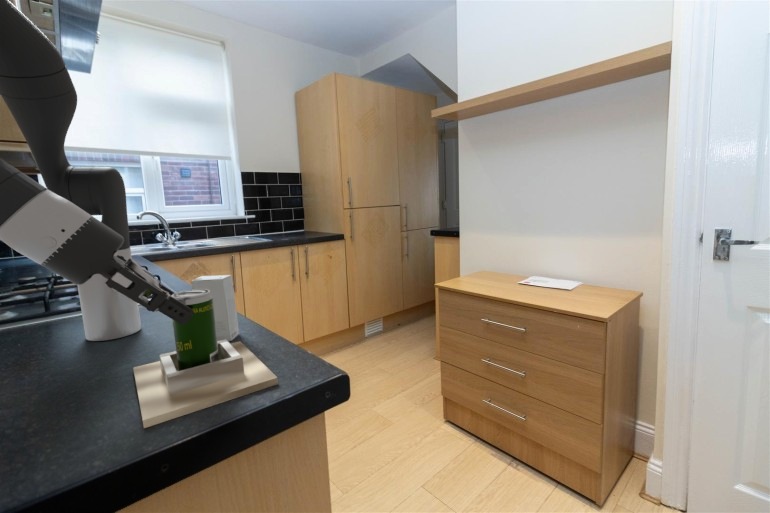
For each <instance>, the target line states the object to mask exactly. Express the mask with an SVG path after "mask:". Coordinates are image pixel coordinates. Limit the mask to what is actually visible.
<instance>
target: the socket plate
mask: <svg viewBox="0 0 770 513" xmlns="http://www.w3.org/2000/svg"><path fill="white" fill-rule="evenodd" d="M217 343H218V353H219V361H215V362H212V363H208V364H204V365H200V366H197V367H193V368H189V369H185V370H181V371H179V368H178V360H177V352H176V350H175V351H170V352H166V353H161V354H158V355H159V360H158V361H154V362H150V363H146V364H142V365H138V366H134V367H133V368H132V369H133V375H134V379H135V386H136V392H137V397H138V403H139V409H140V414H141V421H142V426H143V429H146V428H149V427H152V426H156V425H158V424H162V423H164V422H167V421H170V420H171V421H172V420H173V419H177V418H179V417H182V416H185V415H188V414H192V413H194V412H199V411H202V410H204V409H206V408H210V407H214V406H216V405H219V404H222V403H225V402H228V401H230V400H234V399H237V398H240V397H243V396H247V395H249V394H252V393H255V392H257V391H258V392H259V391H261V390H264V389H265V390H266V388H270V387H274V386H276V385H279V380H278V376H276V375H275V373H274V372H272V371H271V370H270V369H269V367H267V366H266V364H264V363H263V362H262V361H261V360H260V358H258V357H257V356H256V355H255V354H254V353H253V352H252V351H251V350H250V349H249V348H248V347H247V346H246V345H245V344H244V343H242V341H241V340H240V341H235V342H231V343H230V341H227V340H226V339H225V340H220V341H217Z"/></svg>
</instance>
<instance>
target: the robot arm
mask: <svg viewBox="0 0 770 513" xmlns="http://www.w3.org/2000/svg"><path fill="white" fill-rule="evenodd" d="M0 96H1V98H2V100H3V102H4V103H5V104H6V106H7V108H8V110H9V111H10V113H11V115H12V116H13V118H14V121H15V122H16V124H17V126H18V128H19V130H20V132H21V134H22V135H23V137H24V140H25V141H26V143H27V145H28V147H29V150H30V151H31V153H32V156H33V158H34V162H36V163H35V164H36V166H37V168H38V170H39V173H40V175H41V179H42V180H43V183H44V185H45V186H44V185H42V184H41V183H39V182H37V181H36V180H35V179H33V178H32V177H30V176H29V175H27V174H26V173H24V172H22V171H21V170H19V169H18V168H16V167H15V166H13V165H11V164H9V163H8V162H7V161H5V160H4V159H3V158H1V157H0V241H1V242H3V243H4V244H6V245H7V246H8V247H9V248H11V249H13V250H14V251H16V252H17V253H19V254H20V255H22V256H24V257H26V258H28V259H29V260H31V261H33V262H35V263H36V264H38V265H41V267H43V268H45V269H47V270H49V271H51V272H53V273H55V274H56V275H58V276H60V277H62V278H63V279H65V280H67V281H69V282H71V283H73V284H75V285H77V290H78V298H79V302H80V303H79V305H80V310H81V316H82V322H83V330H84V336H85V339H86V341H90V342H101V341H111V340H116V339H120V338H125V337H128V336H130V335H133V334H135V333H138V332H140V331H141V329H142V325H141V324H142V323H141V322H142V321H141V316H140V309H139V308H140V307H139V305H141V306H142V307H143V308H145V309H146V310H147V311H148V312H152V313H155V312H159V313H161V314H163V315H165V317H168V318H169V319H171V320H172V319H173V320H175V321H176V322H178V323H180V324H182V325H184V324H186V323H187V322H188V321H189V320H190V319H191V317H192V316H193V315H194V311H193V310H192V309H191V308H189V307H188V306H186V305H184V304H183V303H181V302H180V301H178V300H176V299H175V298H173V297H172V296H171V295H173V294H175V293H176V292H174V291H173V290H171V289H170V288H168V287H166V286H165V285H164V284H162V282H161V280H159V279H157V278H156V277H155V275H154V274H153V273H152V272H150V271H149V270H147V269H145V268H144V267H142V265H141V264H140V263H138V262H137V261H135V260H134V259H133V256H132V250H131V244H130V243H131V242H130V228H129V221H128V220H129V219H128V208H127V205H128V204H127V194H126V186H125V181H124V179H123V176H122V175H121V173H120V172H119V171H118V170H117V169H116V168H114V167H110V166H72V165H71V164H70V162H69V160H68V158H67V155H66V152H65V142H66V138H67V134H68V131H69V129H70V125H71V124H72V121H73V119H74V116H75V113H76V110H77V106H78V94H77V91H76V88H75V85H74V83H73V81H72V78H71V76H70V73H69V71H68V67H67V64H66V63H65V61H64V58H63V56H62V54H61V53H60V51H59V50H58V48H57V46H55V44H54V43H53V42H52V41H51V40H50V39H49V38H48V37H47V35H46V34H45V33H44V32H43V31H42V30H40V28H38V26H37V25H36V24H34V22H33V21H32V20H30V18H28V17H27V16H26V15H25V14H24V13H23V12H22V11H20V9H19V8H18V7H16V6H15V5H14V3H12V2H11V1H10V0H0ZM94 216H101V221H100V220H99V219H98V218H96V217H94ZM148 298H150V300H149V299H148ZM173 320H172V321H173Z"/></svg>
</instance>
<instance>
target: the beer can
mask: <svg viewBox="0 0 770 513" xmlns="http://www.w3.org/2000/svg"><path fill="white" fill-rule="evenodd" d="M174 293H175V294H173V295H171V296H172V297H173V298H175V299H176V300H178V301H180V302H181V303H183V304H184V305H186V306H188V307H189V308H191V309H192V310H193V311H194V315H193V316H192V317H191V319H190V320H189V321H188V322H187V323H186V324H184V325H182V324H180V323H178V322H176V321H175V320H173V319H171V320H172V326H173V334H174V342H175V351H176V352H177V360H178V368H179V371H181V370H185V369H189V368H193V367H197V366H200V365H204V364H208V363H212V362H215V361H219V353H218V343H217V334H216V325H215V315H214V306H213V297H212V296H211V294H210V290H207V289H194V290H193V289H188V290H187V289H186V290H181V291H178V292H174Z"/></svg>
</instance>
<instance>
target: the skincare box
mask: <svg viewBox="0 0 770 513" xmlns="http://www.w3.org/2000/svg"><path fill="white" fill-rule="evenodd" d="M233 281H234V280H233V275H232V274H224V275H223V274H220V275H219V274H218V275H201V276H199V277H196V278H194V279H191V282H190V283H191V287H192V288H191V290H194V289H207V290H210V294H211V296H212V297H213V306H214V315H215V325H216V334H217V341H220V340H225V339H226V340H227V341H228V342H230V341H231V342H232V341H234V339H235V338H236V337H238V336H239V335H240V329H239V320H238V319H239V318H238V313H237V307H236V306H237V305H236V304H237V303H236V298H235V297H236V296H235V288H234V282H233Z"/></svg>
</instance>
